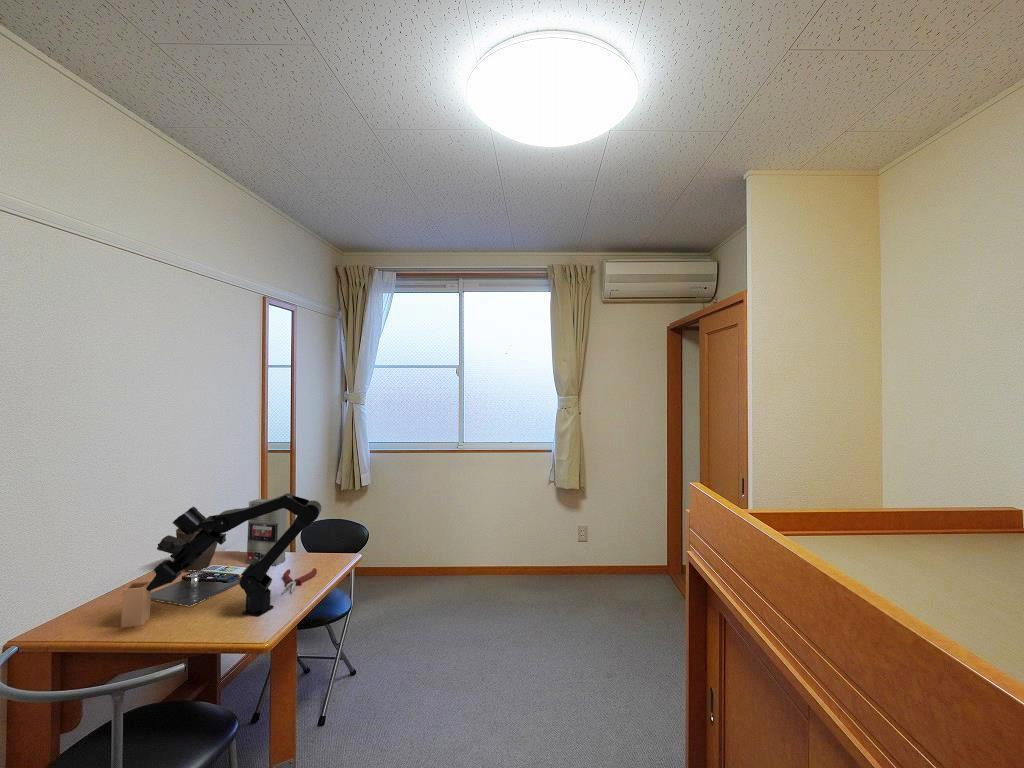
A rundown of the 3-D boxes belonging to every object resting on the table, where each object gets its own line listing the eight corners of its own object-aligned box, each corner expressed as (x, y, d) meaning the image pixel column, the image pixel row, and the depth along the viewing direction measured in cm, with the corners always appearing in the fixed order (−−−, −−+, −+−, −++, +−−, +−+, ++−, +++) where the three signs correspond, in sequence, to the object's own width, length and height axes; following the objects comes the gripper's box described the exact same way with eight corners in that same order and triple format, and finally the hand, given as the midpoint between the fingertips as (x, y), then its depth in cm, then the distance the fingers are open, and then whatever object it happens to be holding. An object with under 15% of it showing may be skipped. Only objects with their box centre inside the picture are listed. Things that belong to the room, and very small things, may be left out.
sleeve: (149, 617, 138) (151, 581, 138) (141, 625, 133) (142, 588, 134) (130, 619, 137) (132, 583, 137) (121, 627, 132) (122, 589, 132)
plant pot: (197, 559, 186) (199, 521, 187) (229, 562, 184) (230, 523, 184) (163, 573, 172) (165, 531, 172) (197, 577, 169) (199, 534, 169)
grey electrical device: (244, 563, 183) (247, 502, 184) (255, 558, 189) (257, 498, 190) (275, 566, 181) (278, 504, 182) (285, 561, 187) (287, 500, 188)
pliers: (268, 597, 154) (268, 590, 155) (286, 575, 174) (286, 568, 174) (304, 595, 157) (304, 588, 157) (317, 573, 176) (317, 566, 176)
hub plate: (241, 582, 165) (241, 567, 165) (190, 607, 145) (190, 590, 146) (197, 576, 170) (198, 561, 170) (142, 599, 150) (143, 582, 150)
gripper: (191, 519, 148) (149, 555, 144) (164, 536, 130) (116, 578, 126) (217, 542, 149) (176, 578, 146) (194, 562, 131) (147, 603, 128)
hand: (155, 583), depth 137 cm, fingers open, 9 cm apart
